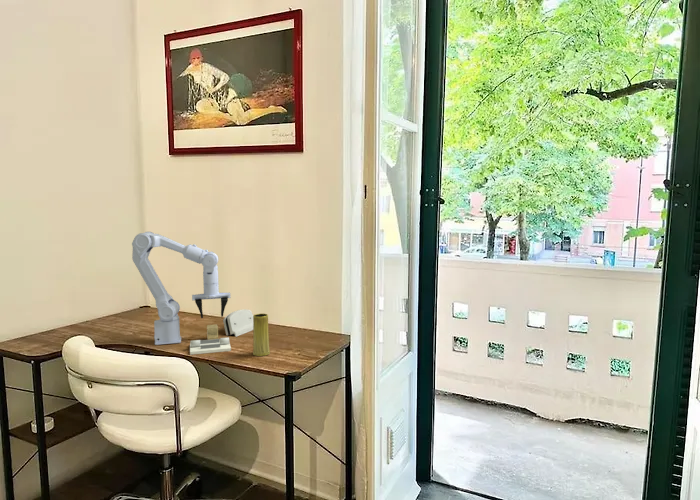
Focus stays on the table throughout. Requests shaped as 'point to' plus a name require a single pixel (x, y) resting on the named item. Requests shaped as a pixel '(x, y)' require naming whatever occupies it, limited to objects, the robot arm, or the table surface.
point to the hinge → (238, 322)
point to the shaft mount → (209, 346)
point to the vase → (260, 335)
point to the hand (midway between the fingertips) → (212, 316)
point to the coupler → (212, 332)
